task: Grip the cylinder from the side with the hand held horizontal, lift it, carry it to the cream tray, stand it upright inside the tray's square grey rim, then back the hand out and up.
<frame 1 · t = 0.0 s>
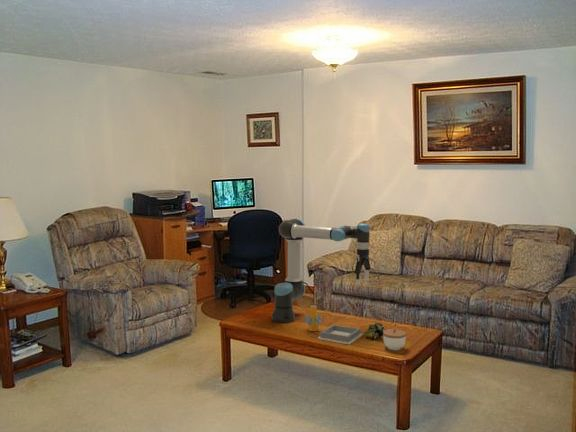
hand: (362, 282, 359), 28 cm above the table, tool pointing down, fingers open, 13 cm apart
passion flower: (375, 338, 337), on the table
holder tray: (340, 337, 340), on the table
lidded bowl: (394, 348, 321), on the table
cylinder: (313, 330, 353), on the table
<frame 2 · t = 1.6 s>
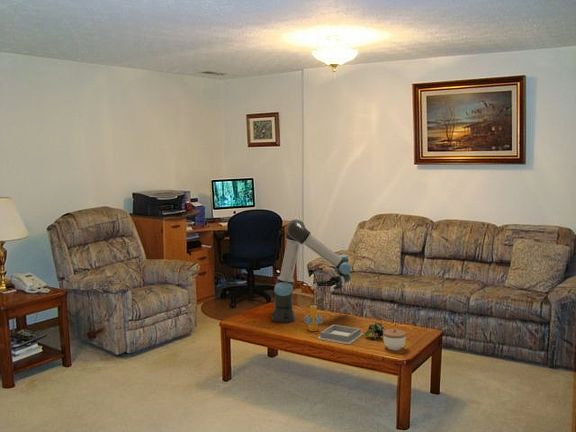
hand: (321, 288, 359), 24 cm above the table, tool horizontal, fingers open, 13 cm apart
nothing on the table moved.
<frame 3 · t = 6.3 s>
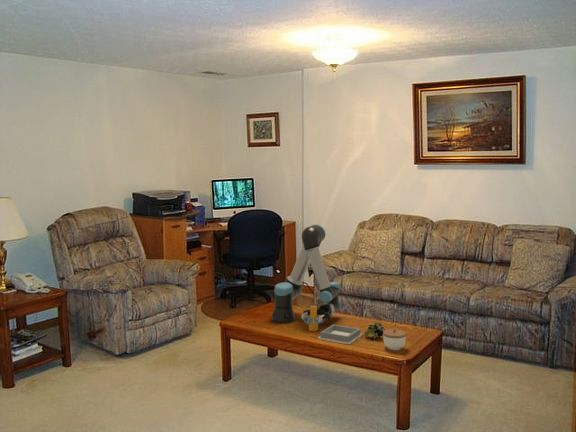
hand: (310, 318, 349), 9 cm above the table, tool horizontal, fingers closed on cylinder, 11 cm apart
cylinder: (313, 330, 353), on the table, touching gripper
everything else where it was.
when the fingers open (11 cm above the table, at t = 12.0 s): cylinder drops 1 cm, resting on holder tray.
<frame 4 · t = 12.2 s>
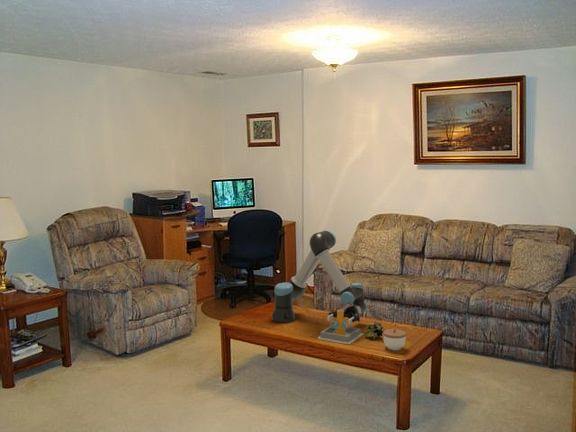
hand: (338, 320, 336), 11 cm above the table, tool horizontal, fingers open, 13 cm apart
cylinder: (340, 335, 340), point 1 cm above the table, touching holder tray
everything else where it was.
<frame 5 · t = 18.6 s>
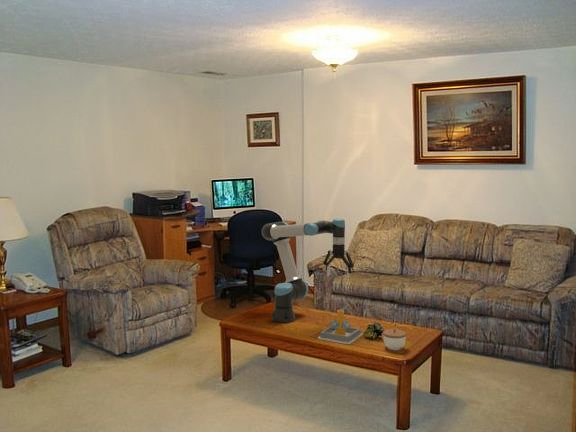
hand: (338, 277, 361), 31 cm above the table, tool pointing down, fingers open, 13 cm apart
nothing on the table moved.
at the end: cylinder inside the target area on the holder tray (0.2 cm from its centre), point 0.8 cm above the holder tray's base; cylinder tilted 0°; the gripper is holding nothing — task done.
